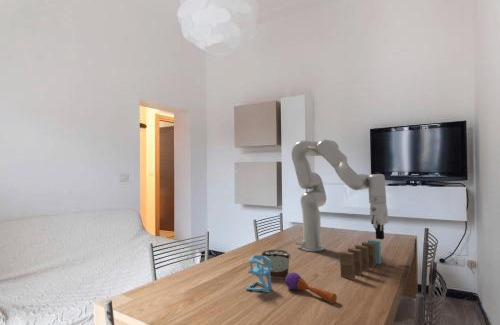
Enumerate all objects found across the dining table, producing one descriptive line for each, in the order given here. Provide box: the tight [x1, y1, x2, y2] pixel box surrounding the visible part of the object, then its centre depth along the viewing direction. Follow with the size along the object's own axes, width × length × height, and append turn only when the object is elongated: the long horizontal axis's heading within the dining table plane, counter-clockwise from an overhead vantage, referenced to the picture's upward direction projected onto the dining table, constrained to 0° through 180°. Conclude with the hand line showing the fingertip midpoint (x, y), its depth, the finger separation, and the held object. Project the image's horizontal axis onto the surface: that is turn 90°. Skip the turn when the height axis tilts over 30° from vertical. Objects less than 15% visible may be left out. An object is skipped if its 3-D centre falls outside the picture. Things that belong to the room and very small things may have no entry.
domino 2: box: [347, 247, 363, 276], centre depth 122 cm, size 2×5×10 cm, turn 44°
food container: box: [261, 249, 292, 279], centre depth 122 cm, size 12×6×10 cm, turn 71°
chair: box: [245, 254, 273, 293], centre depth 109 cm, size 8×8×12 cm
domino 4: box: [361, 241, 377, 268], centre depth 131 cm, size 2×5×10 cm, turn 44°
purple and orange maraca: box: [284, 272, 338, 305], centre depth 103 cm, size 6×6×20 cm
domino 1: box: [339, 250, 356, 281], centre depth 118 cm, size 2×5×10 cm, turn 44°
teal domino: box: [367, 239, 382, 265], centre depth 136 cm, size 2×5×10 cm, turn 44°
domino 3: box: [354, 244, 370, 272], centre depth 127 cm, size 2×5×10 cm, turn 44°
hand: (380, 238), depth 139 cm, fingers closed
